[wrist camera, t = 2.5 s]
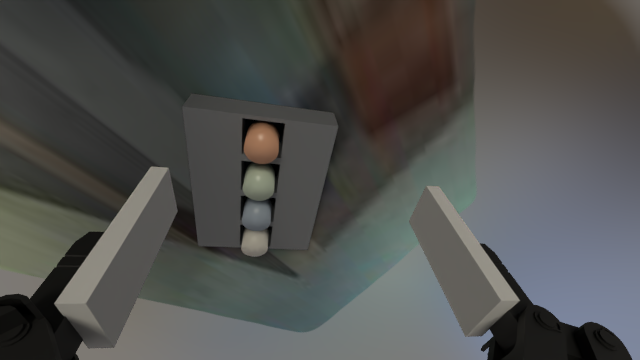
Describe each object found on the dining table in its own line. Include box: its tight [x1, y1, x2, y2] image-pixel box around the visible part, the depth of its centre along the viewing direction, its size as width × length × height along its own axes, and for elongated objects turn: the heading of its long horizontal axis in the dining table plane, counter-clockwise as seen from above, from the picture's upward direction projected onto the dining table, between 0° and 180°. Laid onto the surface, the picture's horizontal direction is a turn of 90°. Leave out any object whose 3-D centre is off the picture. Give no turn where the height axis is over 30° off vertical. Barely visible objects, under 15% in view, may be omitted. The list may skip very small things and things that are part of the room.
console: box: [182, 93, 338, 250], centre depth 41 cm, size 18×24×4 cm
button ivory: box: [241, 228, 269, 257], centre depth 44 cm, size 4×4×4 cm
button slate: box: [242, 198, 272, 231], centre depth 40 cm, size 4×4×4 cm
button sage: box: [243, 162, 275, 201], centre depth 37 cm, size 4×4×4 cm
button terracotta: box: [244, 121, 279, 164], centre depth 33 cm, size 4×4×4 cm
